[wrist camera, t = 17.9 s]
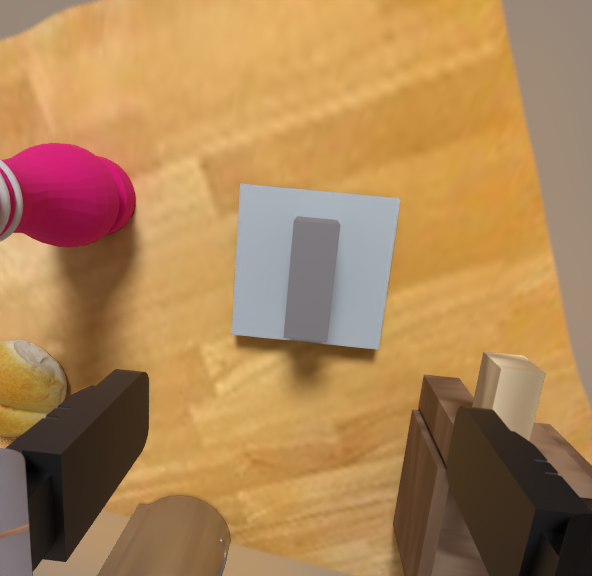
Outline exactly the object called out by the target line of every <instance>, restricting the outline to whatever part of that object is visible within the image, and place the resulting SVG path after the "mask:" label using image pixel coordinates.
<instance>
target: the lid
mask: <svg viewBox="0 0 592 576" xmlns="http://www.w3.org/2000/svg"><path fill="white" fill-rule="evenodd" d="M399 205H400V198H391V197H380V196H369V195H358V194H347V193H336V192H325V191H314V190H304V189H293V188H282V187H271V186H260V185H249V184H240V200H239V217H238V235H237V252H236V270H235V287H234V305H233V323H232V335H242V336H252V337H261V338H271V339H281V340H290V341H300V342H310V343H319V344H329V345H339V346H348V347H358V348H368V349H377V350H379V344H380V337H381V330H382V323H383V316H384V309H385V302H386V295H387V289H388V282H389V275H390V268H391V261H392V254H393V247H394V240H395V233H396V226H397V219H398V212H399Z"/></svg>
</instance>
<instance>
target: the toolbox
mask: <svg viewBox="0 0 592 576" xmlns="http://www.w3.org/2000/svg"><path fill="white" fill-rule="evenodd" d="M473 401H474V397H473V396H472V395H471V393H470V392H469V391H468V389H467V388H466V387H465V386H464V384H463V383H462V382H461V380H460V379H459V378H450V377H440V376H430V375H424V379H423V384H422V390H421V396H420V402H419V408H420V410H421V411H419V410H412V415H411V421H410V427H409V433H408V439H407V445H406V451H405V457H404V463H403V469H402V475H401V481H400V487H399V492H398V498H397V504H396V510H395V516H394V522H393V525H394V530H395V534H396V539H397V543H398V548H399V552H400V557H401V561H402V565H403V570H404V574H405V576H489V574H488V572H487V569H486V567H485V565H484V563H483V561H482V558H481V556H480V554H479V552H478V549H477V547H476V545H475V543H474V541H473V538H472V536H471V534H470V532H469V529H468V527H467V525H466V523H465V521H464V518H463V516H462V514H461V512H460V509H459V507H458V505H457V503H456V501H455V498H454V496H453V494H452V492H451V489H450V487H449V484H448V479H447V458H448V453H449V448H450V443H451V438H452V432H453V427H454V422H455V417H456V413H457V410H458V408H459V407H460V406H467V407H472V406H473ZM529 442H531V443H532V444H534V445H535V446H536V447H537V448H538V450H539V451H540V452H541V453H542V454H543V455H544V457H545V458H546V459H547V462H548V463H551V465H552V466H553V467H554V468H555V469H556V470H557V472H558V475H559V476H562V477H563V478H564V480H565V481H566V482H567V483H568V484H569V485H570V487H571V488H572V489H573V490H574V491H575V492H576V494H577V495H578V496H579V497H580V498H581V499H582V500H583V502H584V503H585V504H586V505H587V506H588V507H589V509H590V510H591V511H592V466H591V465H590V464H589V463H588V462H587V461H586V460H585V459H584V458H583V457H582V456H581V455H580V454H579V453H578V452H577V451H576V450H575V449H574V448H573V447H572V446H571V445H570V444H569V443H568V442H567V441H566V440H565V439H564V438H563V437H562V436H561V435H560V434H559V433H558V432H557V431H556V430H555V429H554V428H553V427H552V426H551V425H549V424H540V423H534V424H533V428H532V432H531V436H530V440H529Z"/></svg>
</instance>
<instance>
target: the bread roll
mask: <svg viewBox="0 0 592 576" xmlns="http://www.w3.org/2000/svg"><path fill="white" fill-rule="evenodd" d="M66 392H67V381H66V376H65V373H64V371H63V369H62V367H61V365H60V364H59V363H58V362H57V361H56V360H55V359H54V358H52V357H51V356H50V355H49V354H48V353H47V352H46V351H45V350H43V349H41V348H40V347H38V346H36V345H35V344H33V343H31V342H28V341H26V340H20V339H19V340H13V341H0V437H16V436H21V435H22V434H24V433H25V432H26V431H27V430H29V429H30V428H31V427H32V426H34V425H35V424H36V423H37V422H38V421H40V420H41V419H42V418H45V417H46V415H47V414H48V413H50V412H51V411H52V410H53V409H55V408H57V407H58V405H60V404H61V403H62V402H63V401H64V400H65V397H66Z"/></svg>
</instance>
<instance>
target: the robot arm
mask: <svg viewBox="0 0 592 576" xmlns="http://www.w3.org/2000/svg"><path fill="white" fill-rule="evenodd" d="M148 429H149V378H148V374H147V373H146V372H139V371H130V370H120V369H116V370H114V371H113V372H112V373H111V374H110V375H108V376H107V377H106V378H105V379H104V380H103V381H101V382H100V383H99V384H98V385H97V386H90V387H88V388H86V389H83V390H81V391H79V392H76V393H74V394H72V395H71V396H69V397H68V398H67V399H66V400H64V401H63V402H62V403H61V404H60V405H58V407H57V408H55V409H53V410H52V411H51V412H50V413H48V414H47V415H46V417H45V418H42V419H41V420H40V421H38V422H37V423H36V424H35V425H34V426H32V427H31V428H30V429H29V430H27V431H26V432H25V433H24V434H22V435H21V436H20V437H19V438H17V439H16V440H15V441H14V442H13V443H11V444H10V445H9V446H8V447H6V448H0V576H33V571H34V570H35V568H36V567H37V566H38V564H39V563H40V562H41V560H42V559H45V560H54V561H62V562H66V561H67V560H68V558H69V557H70V555H71V554H72V552H73V551H74V549H75V548H76V547H77V545H78V544H79V542H80V541H81V539H82V538H83V537H84V535H85V533H86V532H87V531H88V529H89V528H90V526H91V525H92V523H93V522H94V520H95V519H96V518H97V516H98V515H99V513H100V512H101V510H102V509H103V507H104V506H105V505H106V503H107V502H108V500H109V499H110V497H111V496H112V494H113V493H114V492H115V490H116V489H117V487H118V486H119V484H120V483H121V481H122V480H123V478H124V477H125V476H126V474H127V473H128V471H129V470H130V468H131V467H132V465H133V464H134V462H135V461H136V460H137V458H138V457H139V455H140V454H141V452H142V450H143V448H144V446H145V443H146V440H147V436H148ZM447 479H448V484H449V487H450V489H451V492H452V494H453V496H454V498H455V501H456V503H457V505H458V507H459V509H460V512H461V514H462V516H463V518H464V521H465V523H466V525H467V527H468V529H469V532H470V534H471V536H472V538H473V541H474V543H475V545H476V547H477V549H478V552H479V554H480V556H481V558H482V561H483V563H484V565H485V567H486V569H487V572H488V574H489V576H592V511H591V510H590V509H589V507H588V506H587V505H586V504H585V503H584V502H583V500H582V499H581V498H580V497H579V496H578V495H577V494H576V492H575V491H574V490H573V489H572V488H571V487H570V485H569V484H568V483H567V482H566V481H565V480H564V478H563V477H562V476H559V475H558V472H557V470H556V469H555V468H554V467H553V466H552V465H551V463H548V462H547V459H546V458H545V457H544V455H543V454H542V453H541V452H540V451H539V450H538V448H537V447H536V446H535V445H534V444H532V443H531V442H529V441H528V440H527V439H525V438H524V437H522V436H521V435H519V434H518V433H516V432H515V431H510V429H509V428H508V427H507V426H506V424H505V423H504V422H503V421H502V420H501V418H500V417H499V416H498V415H497V413H496V412H495V411H494V410H492V409H486V408H477V407H467V406H460V407H459V408H458V410H457V413H456V417H455V422H454V427H453V432H452V438H451V443H450V448H449V453H448V458H447ZM229 544H230V533H229V530H228V527H227V524H226V522H225V521H224V519H223V517H222V516H221V515H220V514H219V513H218V512H217V510H215V509H214V508H213V507H212V506H210V505H209V504H207V503H205V502H203V501H201V500H199V499H196V498H193V497H189V496H169V497H165V498H162V499H159V500H158V501H156V502H154V503H152V504H148V505H145V504H139V505H138V506H137V508H136V510H135V511H134V513H133V515H132V517H131V518H130V520H129V522H128V524H127V525H126V527H125V529H124V530H123V532H122V534H121V535H120V537H119V539H118V541H117V542H116V544H115V546H114V547H113V549H112V551H111V553H110V555H109V556H108V558H107V559H106V561H105V563H104V565H103V566H102V568H101V570H100V572H99V573H98V575H97V576H222V573H223V570H224V567H225V563H226V559H227V553H228V550H229Z"/></svg>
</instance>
